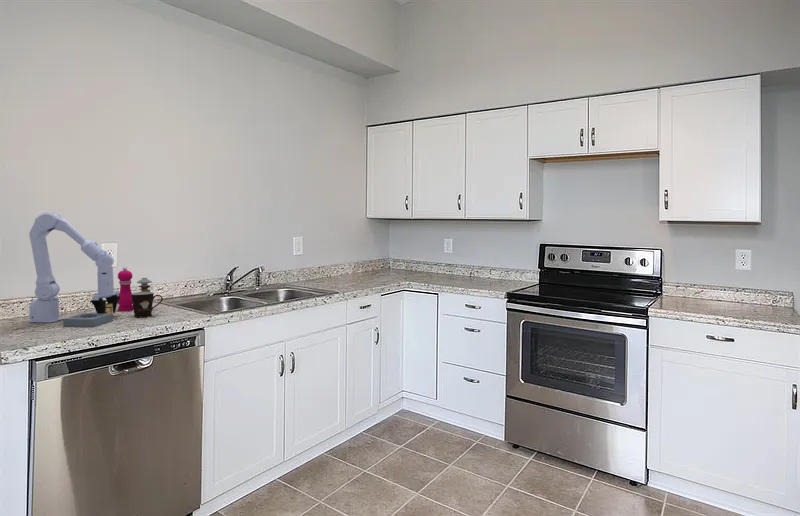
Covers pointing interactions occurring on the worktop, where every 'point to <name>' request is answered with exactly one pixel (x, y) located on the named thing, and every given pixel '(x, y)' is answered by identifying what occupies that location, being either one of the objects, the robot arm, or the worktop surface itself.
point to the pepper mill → (125, 290)
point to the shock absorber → (144, 285)
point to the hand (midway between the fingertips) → (106, 314)
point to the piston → (109, 308)
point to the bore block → (88, 319)
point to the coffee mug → (143, 303)
